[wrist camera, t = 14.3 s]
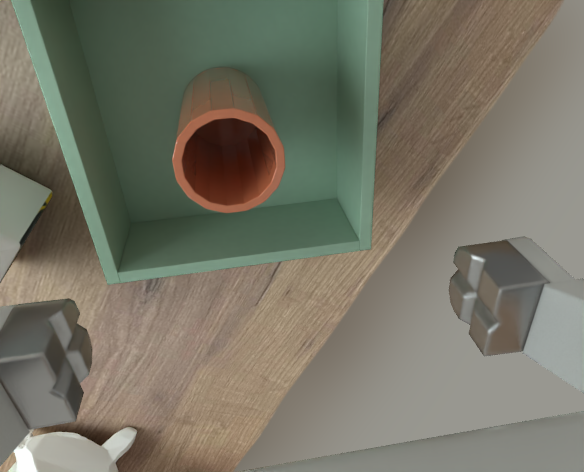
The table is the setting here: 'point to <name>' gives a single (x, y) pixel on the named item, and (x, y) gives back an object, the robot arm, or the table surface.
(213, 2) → the open box
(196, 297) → the table surface
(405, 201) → the table surface
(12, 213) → the medicine bottle
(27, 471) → the white faceted figurine
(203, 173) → the cup
